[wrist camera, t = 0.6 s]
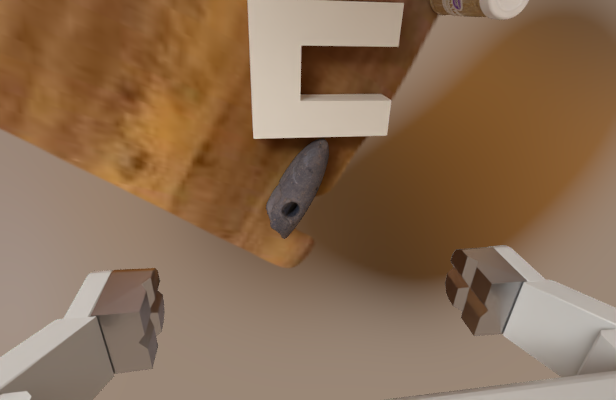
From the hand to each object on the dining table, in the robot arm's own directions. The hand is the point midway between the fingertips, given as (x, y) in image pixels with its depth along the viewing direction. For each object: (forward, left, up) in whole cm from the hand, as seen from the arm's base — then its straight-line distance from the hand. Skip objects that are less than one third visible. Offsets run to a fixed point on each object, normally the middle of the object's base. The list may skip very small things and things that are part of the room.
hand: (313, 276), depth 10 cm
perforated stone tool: (+16, +5, -43) cm, 47 cm away
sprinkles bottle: (-8, +24, -43) cm, 50 cm away
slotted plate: (+1, +8, -43) cm, 44 cm away
